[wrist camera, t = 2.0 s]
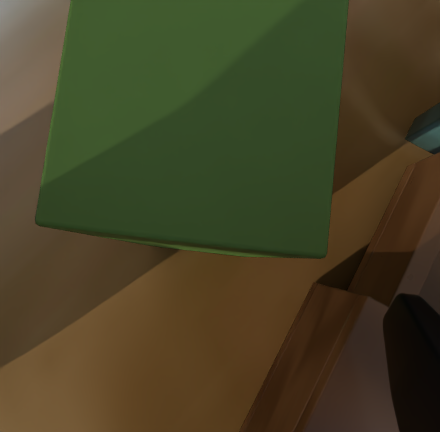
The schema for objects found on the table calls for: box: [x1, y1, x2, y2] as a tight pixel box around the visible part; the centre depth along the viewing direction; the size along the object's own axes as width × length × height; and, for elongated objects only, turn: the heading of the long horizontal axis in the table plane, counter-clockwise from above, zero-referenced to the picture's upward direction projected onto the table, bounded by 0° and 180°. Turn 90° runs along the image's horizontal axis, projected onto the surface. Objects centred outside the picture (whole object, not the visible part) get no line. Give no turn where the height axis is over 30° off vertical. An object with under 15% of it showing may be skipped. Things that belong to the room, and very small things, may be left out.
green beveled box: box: [35, 0, 349, 259], centre depth 13 cm, size 4×4×13 cm
